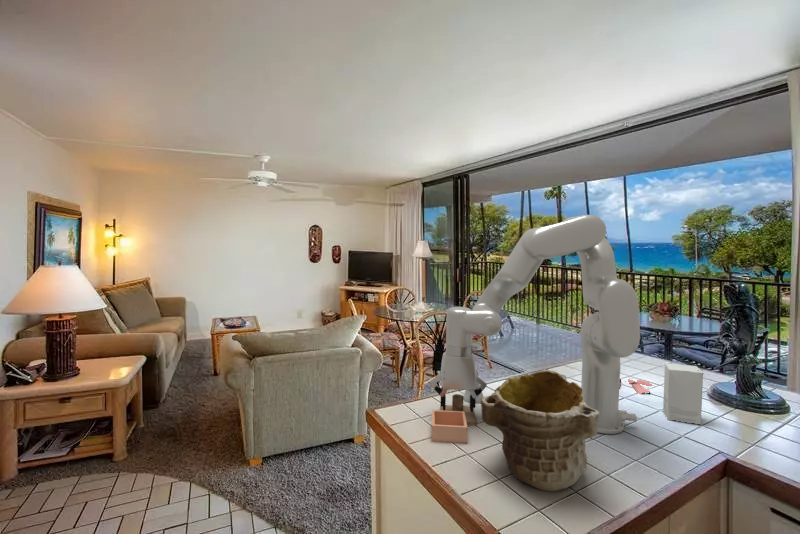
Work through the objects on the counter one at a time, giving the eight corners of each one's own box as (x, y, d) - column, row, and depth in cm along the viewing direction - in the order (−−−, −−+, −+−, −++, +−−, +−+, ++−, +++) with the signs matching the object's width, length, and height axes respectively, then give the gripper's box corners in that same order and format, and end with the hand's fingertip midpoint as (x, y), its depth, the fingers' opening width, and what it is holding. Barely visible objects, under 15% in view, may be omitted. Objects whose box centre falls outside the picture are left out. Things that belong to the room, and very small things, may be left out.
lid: (473, 409, 113) (473, 390, 113) (476, 425, 103) (477, 404, 103) (440, 408, 114) (440, 389, 114) (440, 423, 104) (441, 402, 104)
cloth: (658, 384, 138) (658, 378, 138) (661, 405, 120) (662, 398, 120) (596, 373, 149) (597, 368, 149) (591, 391, 131) (591, 385, 131)
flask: (485, 406, 117) (485, 375, 116) (461, 404, 118) (462, 373, 118) (484, 396, 124) (485, 367, 123) (462, 394, 125) (463, 366, 125)
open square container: (464, 427, 103) (464, 411, 103) (467, 444, 94) (467, 427, 94) (431, 425, 104) (432, 409, 104) (431, 442, 95) (431, 425, 95)
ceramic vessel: (518, 490, 64) (488, 353, 79) (482, 499, 84) (464, 388, 98) (639, 481, 67) (589, 349, 81) (577, 492, 86) (545, 384, 101)
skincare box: (695, 416, 111) (698, 365, 110) (702, 426, 105) (705, 372, 104) (661, 411, 115) (664, 361, 114) (666, 420, 109) (669, 368, 108)
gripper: (487, 347, 110) (486, 405, 112) (429, 345, 112) (428, 402, 113) (491, 354, 103) (489, 416, 104) (428, 352, 105) (427, 413, 106)
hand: (457, 408), depth 109 cm, fingers open, 7 cm apart
